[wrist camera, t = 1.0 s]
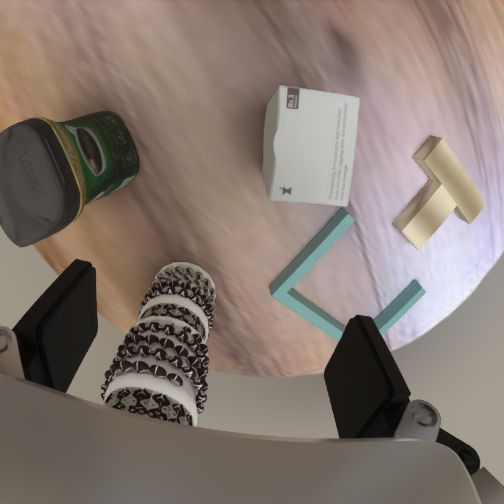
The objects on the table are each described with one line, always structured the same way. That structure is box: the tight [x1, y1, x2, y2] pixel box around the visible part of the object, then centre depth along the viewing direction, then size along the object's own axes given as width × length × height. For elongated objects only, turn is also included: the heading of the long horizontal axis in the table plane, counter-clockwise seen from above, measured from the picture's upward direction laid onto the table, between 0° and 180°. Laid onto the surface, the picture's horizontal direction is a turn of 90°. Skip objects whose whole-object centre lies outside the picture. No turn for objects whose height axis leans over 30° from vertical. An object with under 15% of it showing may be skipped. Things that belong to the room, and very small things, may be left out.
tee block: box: [392, 136, 486, 250], centre depth 35 cm, size 12×12×3 cm
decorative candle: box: [101, 262, 216, 427], centre depth 29 cm, size 9×9×25 cm
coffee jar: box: [0, 111, 138, 247], centre depth 25 cm, size 10×8×19 cm
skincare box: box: [262, 85, 360, 206], centre depth 27 cm, size 8×6×15 cm
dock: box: [270, 208, 426, 342], centre depth 40 cm, size 14×17×2 cm
